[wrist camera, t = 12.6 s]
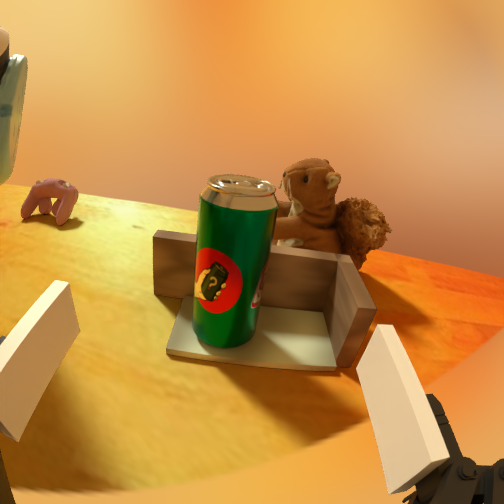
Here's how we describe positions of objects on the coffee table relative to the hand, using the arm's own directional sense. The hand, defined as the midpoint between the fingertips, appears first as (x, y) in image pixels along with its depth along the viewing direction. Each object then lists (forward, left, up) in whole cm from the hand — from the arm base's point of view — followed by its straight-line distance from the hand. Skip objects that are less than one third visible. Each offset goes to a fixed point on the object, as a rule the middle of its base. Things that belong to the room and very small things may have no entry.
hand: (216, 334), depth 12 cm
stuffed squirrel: (+10, +23, -9) cm, 27 cm away
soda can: (0, +10, -8) cm, 13 cm away
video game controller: (-30, +28, -9) cm, 42 cm away
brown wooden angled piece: (+2, +11, -9) cm, 14 cm away
